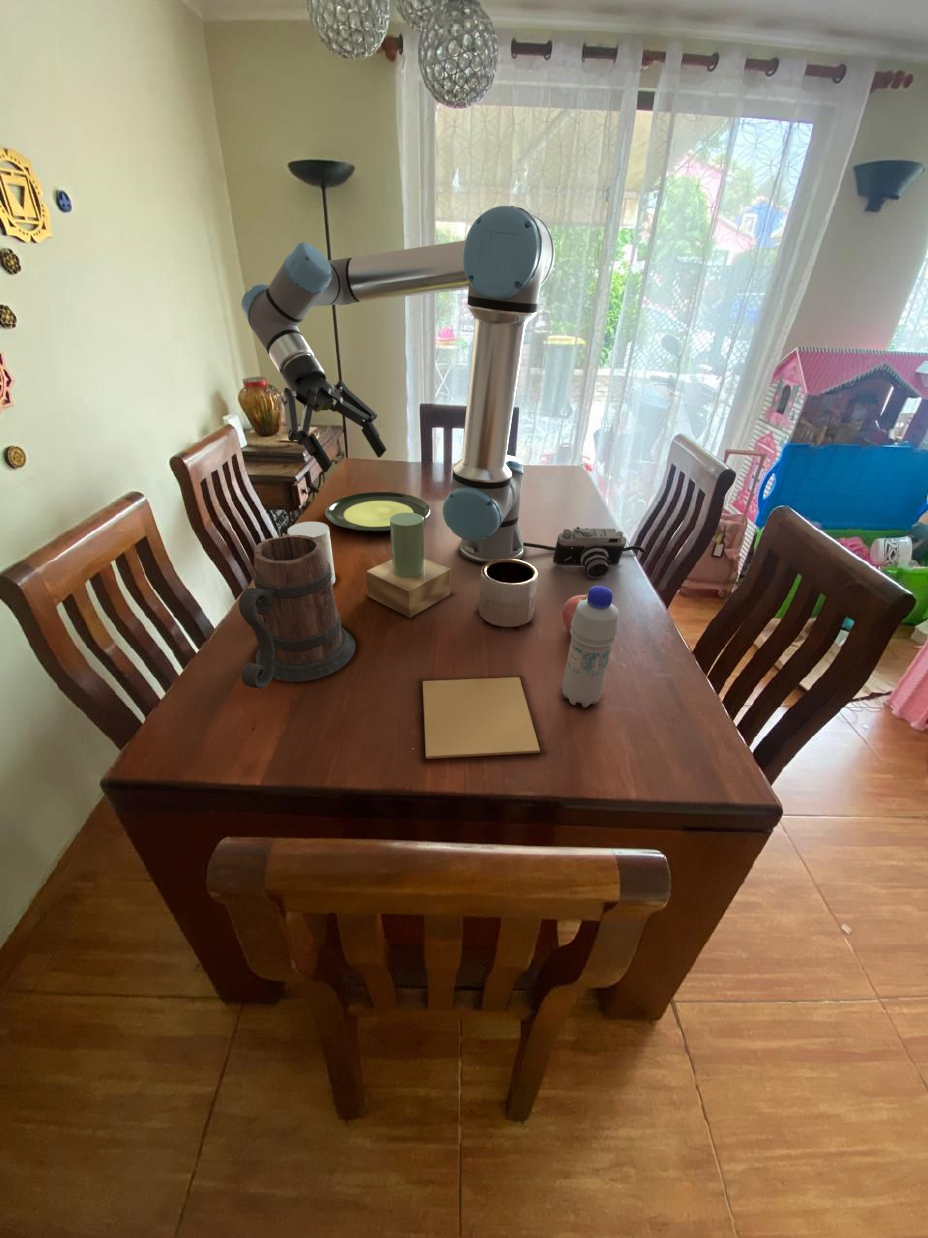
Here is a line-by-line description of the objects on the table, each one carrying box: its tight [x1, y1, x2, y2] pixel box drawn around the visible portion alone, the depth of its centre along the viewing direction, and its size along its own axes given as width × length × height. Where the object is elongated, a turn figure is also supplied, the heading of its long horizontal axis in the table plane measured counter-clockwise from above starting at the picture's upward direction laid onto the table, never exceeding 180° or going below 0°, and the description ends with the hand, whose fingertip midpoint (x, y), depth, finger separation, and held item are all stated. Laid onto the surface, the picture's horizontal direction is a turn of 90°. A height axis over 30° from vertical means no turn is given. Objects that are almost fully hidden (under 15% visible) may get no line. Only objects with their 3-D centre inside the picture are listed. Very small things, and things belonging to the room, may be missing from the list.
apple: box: [561, 594, 588, 632], centre depth 96 cm, size 7×7×8 cm
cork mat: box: [422, 676, 541, 760], centre depth 79 cm, size 16×16×1 cm
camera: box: [552, 526, 628, 580], centre depth 116 cm, size 16×9×10 cm, turn 93°
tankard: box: [238, 535, 356, 690], centre depth 83 cm, size 24×17×20 cm
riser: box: [365, 557, 451, 618], centre depth 106 cm, size 12×12×6 cm
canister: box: [389, 513, 425, 578], centre depth 102 cm, size 6×6×11 cm
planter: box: [478, 559, 539, 628], centre depth 100 cm, size 11×11×10 cm
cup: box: [286, 521, 336, 585], centre depth 109 cm, size 8×8×12 cm
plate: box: [325, 491, 431, 533], centre depth 141 cm, size 28×28×2 cm
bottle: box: [561, 585, 620, 708], centre depth 78 cm, size 7×7×20 cm
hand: (356, 460), depth 101 cm, fingers open, 13 cm apart
